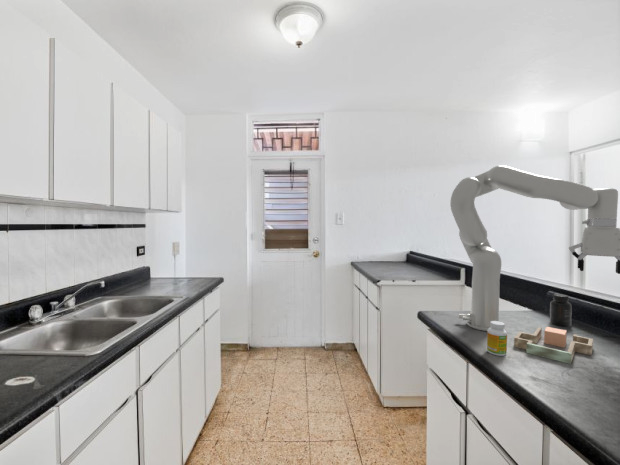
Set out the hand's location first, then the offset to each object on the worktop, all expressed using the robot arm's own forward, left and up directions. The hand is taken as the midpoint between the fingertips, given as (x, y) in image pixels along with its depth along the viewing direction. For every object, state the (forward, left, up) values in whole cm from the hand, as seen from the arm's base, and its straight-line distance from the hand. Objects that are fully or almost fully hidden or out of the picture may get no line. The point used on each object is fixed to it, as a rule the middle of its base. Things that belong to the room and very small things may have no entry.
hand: (599, 271), depth 110 cm
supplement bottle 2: (-5, +14, -24) cm, 29 cm away
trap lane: (-18, -14, -24) cm, 33 cm away
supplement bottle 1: (-37, -24, -24) cm, 51 cm away
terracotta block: (-16, -9, -24) cm, 31 cm away
